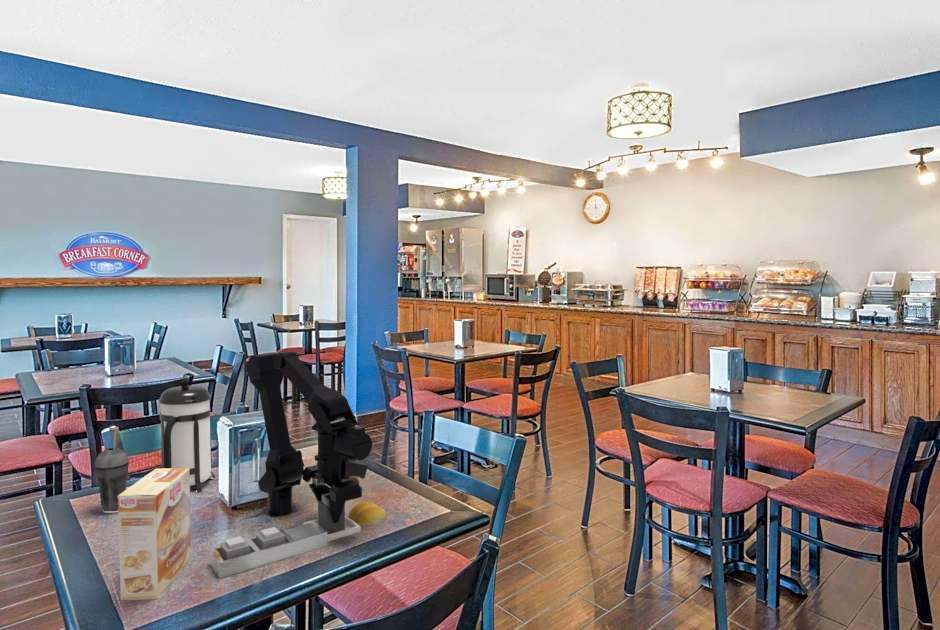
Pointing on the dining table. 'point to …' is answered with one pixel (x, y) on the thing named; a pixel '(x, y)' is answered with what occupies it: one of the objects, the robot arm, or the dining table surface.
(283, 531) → the power strip
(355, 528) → the tray
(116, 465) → the beverage cup
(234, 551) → the twin plug
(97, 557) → the dining table surface
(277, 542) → the twin plug
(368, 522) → the bread roll
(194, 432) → the coffee press
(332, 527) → the plug
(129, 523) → the coffeecake box
